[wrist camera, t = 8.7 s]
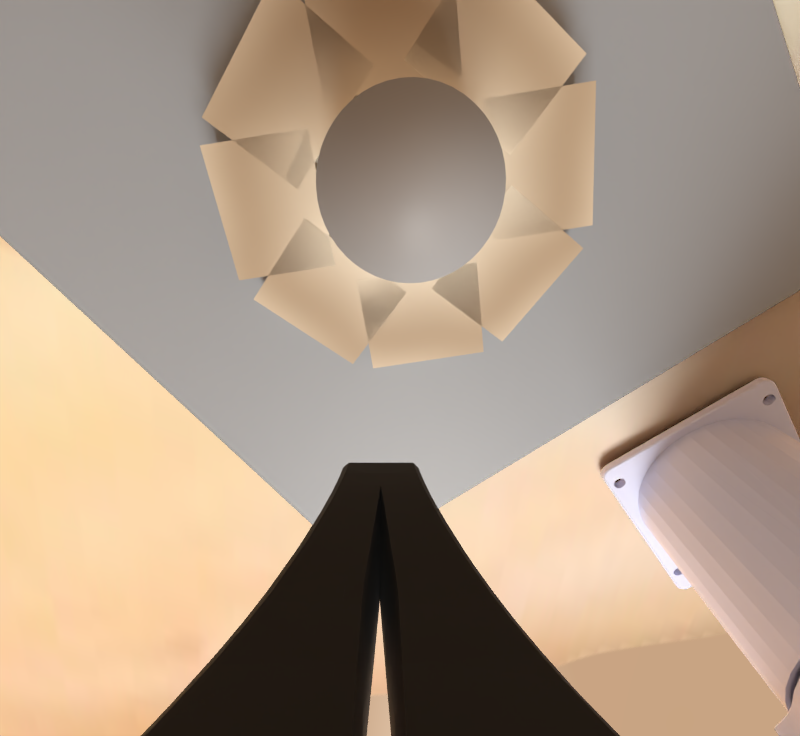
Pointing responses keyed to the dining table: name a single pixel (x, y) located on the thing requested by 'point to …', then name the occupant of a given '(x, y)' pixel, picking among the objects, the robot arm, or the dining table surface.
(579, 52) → the beige angular piece
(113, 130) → the post board
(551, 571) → the dining table surface
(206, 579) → the dining table surface
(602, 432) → the dining table surface
